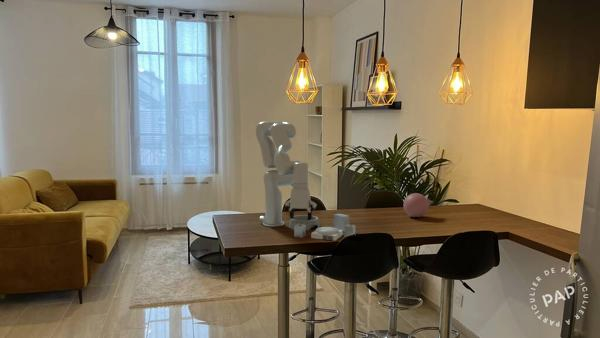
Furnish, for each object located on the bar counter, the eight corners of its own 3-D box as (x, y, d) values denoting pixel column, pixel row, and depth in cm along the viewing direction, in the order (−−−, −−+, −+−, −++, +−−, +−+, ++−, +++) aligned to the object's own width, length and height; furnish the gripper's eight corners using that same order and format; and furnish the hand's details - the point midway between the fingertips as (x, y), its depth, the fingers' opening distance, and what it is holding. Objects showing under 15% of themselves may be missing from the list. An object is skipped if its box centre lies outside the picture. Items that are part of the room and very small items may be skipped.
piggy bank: (439, 219, 264) (440, 194, 263) (409, 220, 260) (410, 195, 258) (427, 214, 279) (428, 191, 277) (398, 215, 275) (399, 191, 273)
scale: (310, 238, 216) (310, 231, 216) (319, 232, 229) (319, 225, 229) (334, 241, 211) (335, 234, 211) (342, 234, 224) (343, 228, 224)
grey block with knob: (294, 237, 219) (294, 225, 218) (297, 234, 223) (297, 223, 222) (302, 238, 217) (302, 226, 216) (305, 235, 221) (305, 224, 220)
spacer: (344, 237, 219) (344, 225, 218) (346, 235, 223) (347, 224, 222) (352, 238, 217) (353, 226, 216) (355, 236, 221) (355, 224, 221)
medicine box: (349, 231, 232) (349, 215, 231) (344, 232, 229) (344, 216, 228) (338, 228, 238) (338, 213, 237) (333, 229, 234) (333, 214, 234)
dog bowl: (282, 226, 242) (282, 217, 242) (306, 222, 254) (306, 213, 253) (301, 232, 229) (301, 222, 229) (326, 227, 241) (326, 218, 240)
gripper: (282, 186, 217) (282, 219, 218) (313, 187, 210) (313, 221, 212) (288, 184, 224) (288, 216, 225) (318, 186, 217) (318, 219, 219)
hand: (300, 219), depth 218 cm, fingers open, 9 cm apart
